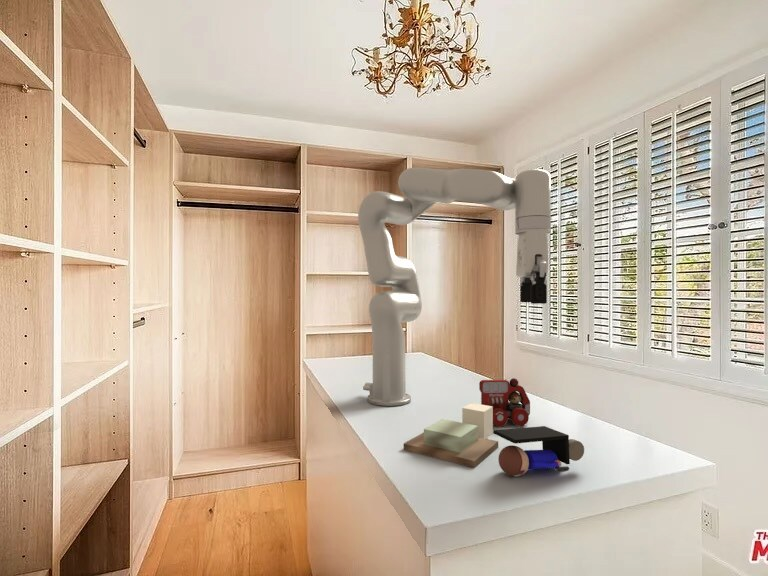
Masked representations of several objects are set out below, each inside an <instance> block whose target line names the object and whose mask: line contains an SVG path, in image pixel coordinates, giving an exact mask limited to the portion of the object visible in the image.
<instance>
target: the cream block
mask: <svg viewBox="0 0 768 576" xmlns="http://www.w3.org/2000/svg"><path fill="white" fill-rule="evenodd" d="M461 409H462V413H461V414H462V415H461V418H462V421H461V423H466V424H471V425H476V426H478V437H480V438H485V439H488V438H489V437H490V436H491V435H493V430H494V429H493V428H494V424H493V406H487V405H481V403H474V402H470V403H469V404H467V405H465V406H463V407H462V408H461Z"/></svg>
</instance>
